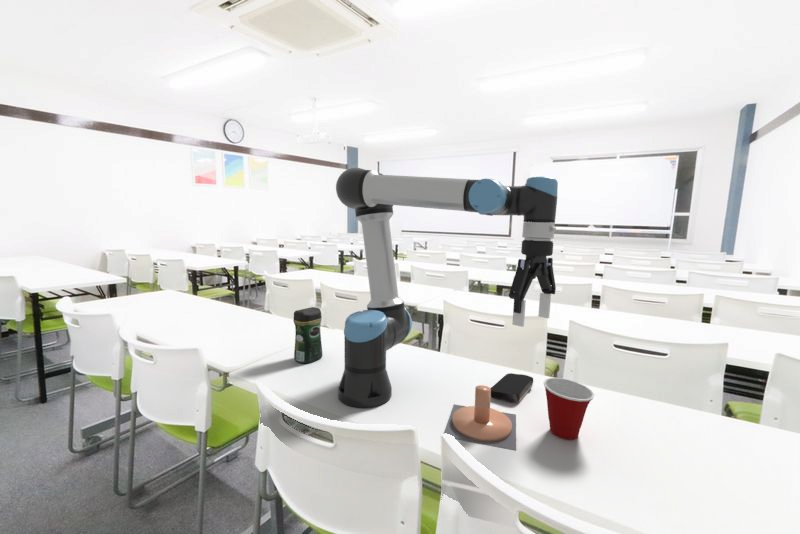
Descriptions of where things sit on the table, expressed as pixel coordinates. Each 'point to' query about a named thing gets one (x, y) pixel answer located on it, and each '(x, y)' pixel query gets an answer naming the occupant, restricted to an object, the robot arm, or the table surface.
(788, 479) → the table surface
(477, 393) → the lid
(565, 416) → the plastic cup
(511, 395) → the black sponge
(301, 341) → the coffee jar
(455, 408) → the mat
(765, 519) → the table surface
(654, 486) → the table surface
